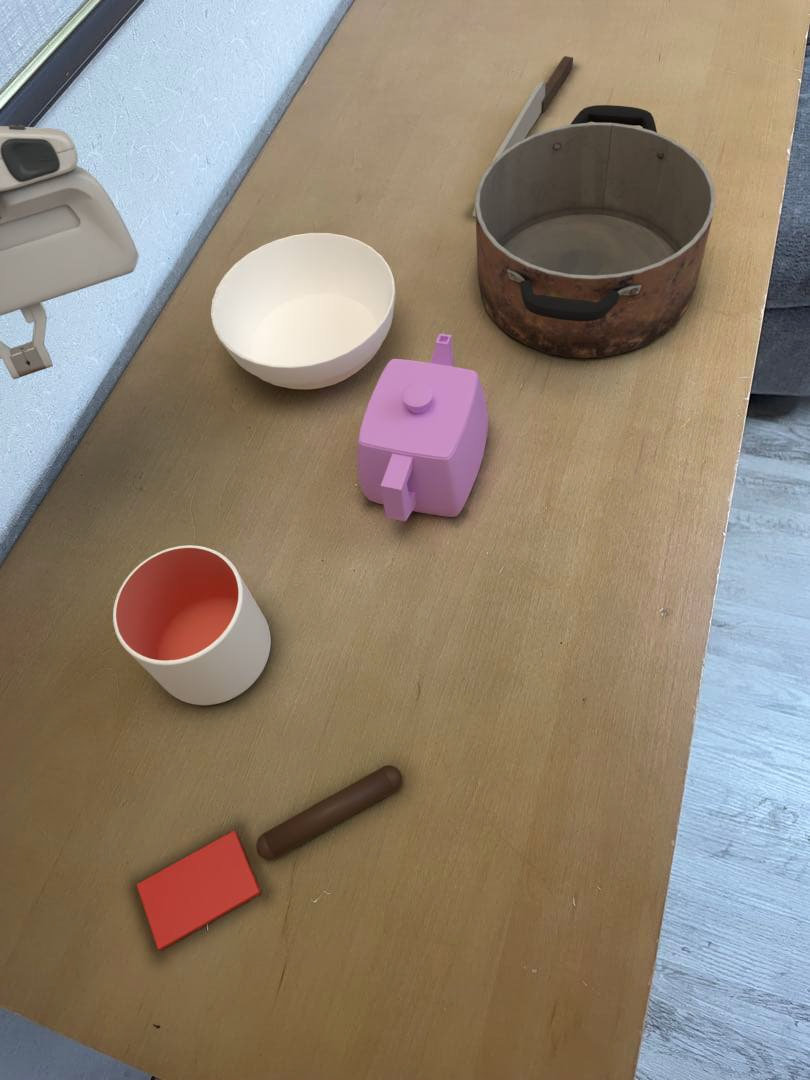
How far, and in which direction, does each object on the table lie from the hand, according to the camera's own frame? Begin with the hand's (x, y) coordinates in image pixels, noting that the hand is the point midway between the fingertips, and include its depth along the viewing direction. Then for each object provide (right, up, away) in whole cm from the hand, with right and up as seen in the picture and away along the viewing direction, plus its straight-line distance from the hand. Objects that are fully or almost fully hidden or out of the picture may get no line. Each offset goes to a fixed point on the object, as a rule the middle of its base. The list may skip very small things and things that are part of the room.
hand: (33, 370), depth 62 cm
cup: (+11, -22, +11) cm, 27 cm away
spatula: (+17, -35, +2) cm, 39 cm away
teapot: (+29, -5, +18) cm, 35 cm away
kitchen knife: (+42, +37, +41) cm, 69 cm away
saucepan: (+46, +15, +28) cm, 56 cm away
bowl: (+18, +8, +27) cm, 33 cm away
